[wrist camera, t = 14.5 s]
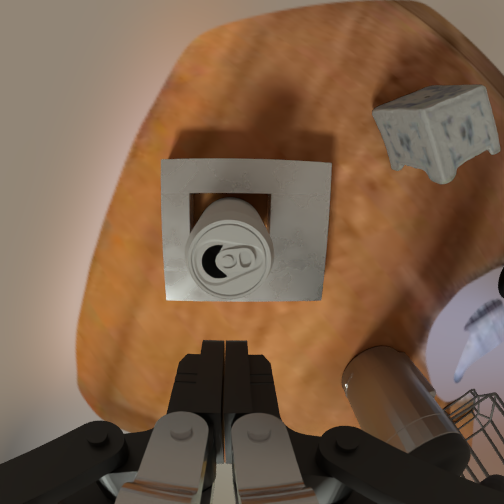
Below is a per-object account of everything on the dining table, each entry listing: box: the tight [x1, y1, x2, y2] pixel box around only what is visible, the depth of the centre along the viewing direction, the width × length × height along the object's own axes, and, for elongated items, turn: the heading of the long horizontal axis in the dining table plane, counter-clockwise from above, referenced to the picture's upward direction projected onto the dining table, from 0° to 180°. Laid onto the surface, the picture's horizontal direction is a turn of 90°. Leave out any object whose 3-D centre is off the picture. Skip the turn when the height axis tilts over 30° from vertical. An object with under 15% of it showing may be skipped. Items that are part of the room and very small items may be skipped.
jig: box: [161, 158, 332, 301], centre depth 31 cm, size 16×14×3 cm
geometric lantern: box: [443, 389, 504, 484], centre depth 27 cm, size 16×16×35 cm
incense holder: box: [372, 85, 500, 184], centre depth 25 cm, size 10×8×10 cm
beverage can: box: [185, 197, 274, 300], centre depth 27 cm, size 6×6×12 cm
